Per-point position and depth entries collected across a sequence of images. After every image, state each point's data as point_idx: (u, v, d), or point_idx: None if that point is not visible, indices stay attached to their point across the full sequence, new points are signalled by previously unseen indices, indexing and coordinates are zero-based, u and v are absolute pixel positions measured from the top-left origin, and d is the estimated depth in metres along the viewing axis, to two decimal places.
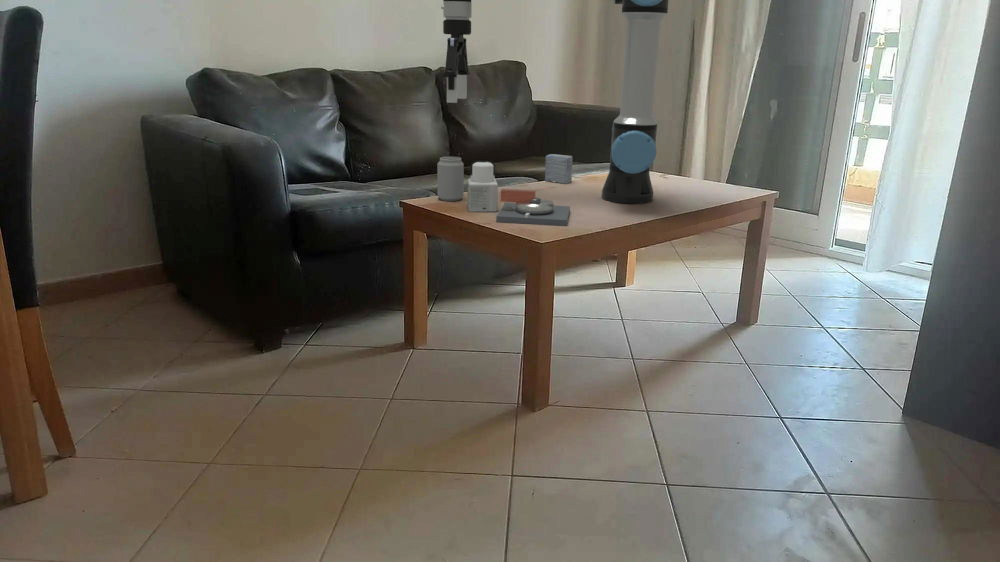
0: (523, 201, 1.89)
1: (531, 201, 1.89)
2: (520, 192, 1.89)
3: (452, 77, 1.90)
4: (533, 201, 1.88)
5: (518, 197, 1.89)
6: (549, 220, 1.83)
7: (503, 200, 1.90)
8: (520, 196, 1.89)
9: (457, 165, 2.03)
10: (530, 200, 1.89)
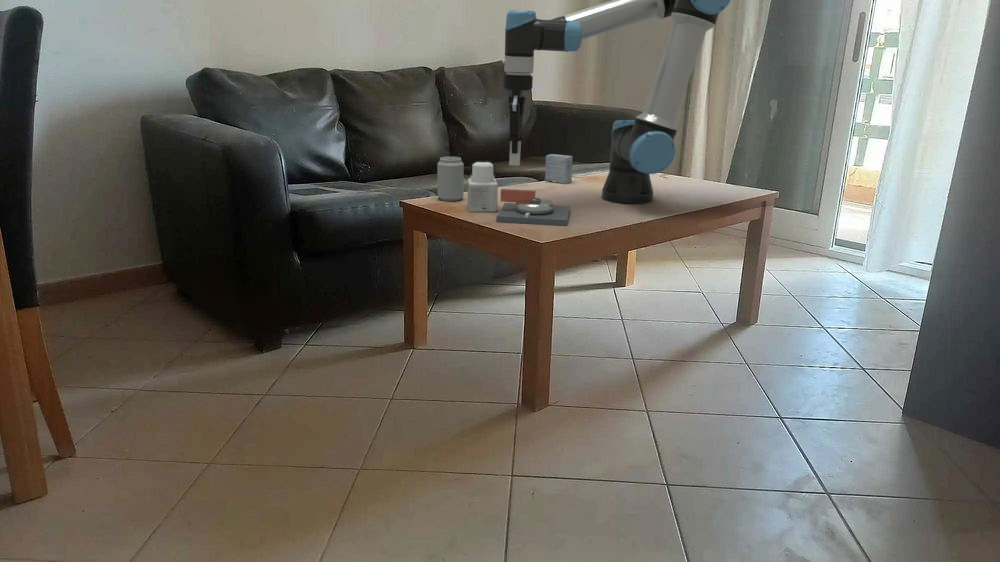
0: (523, 201, 1.89)
1: (531, 201, 1.89)
2: (520, 192, 1.89)
3: (516, 141, 1.89)
4: (533, 201, 1.88)
5: (518, 197, 1.89)
6: (549, 220, 1.83)
7: (503, 200, 1.90)
8: (520, 196, 1.89)
9: (457, 165, 2.03)
10: (530, 200, 1.89)
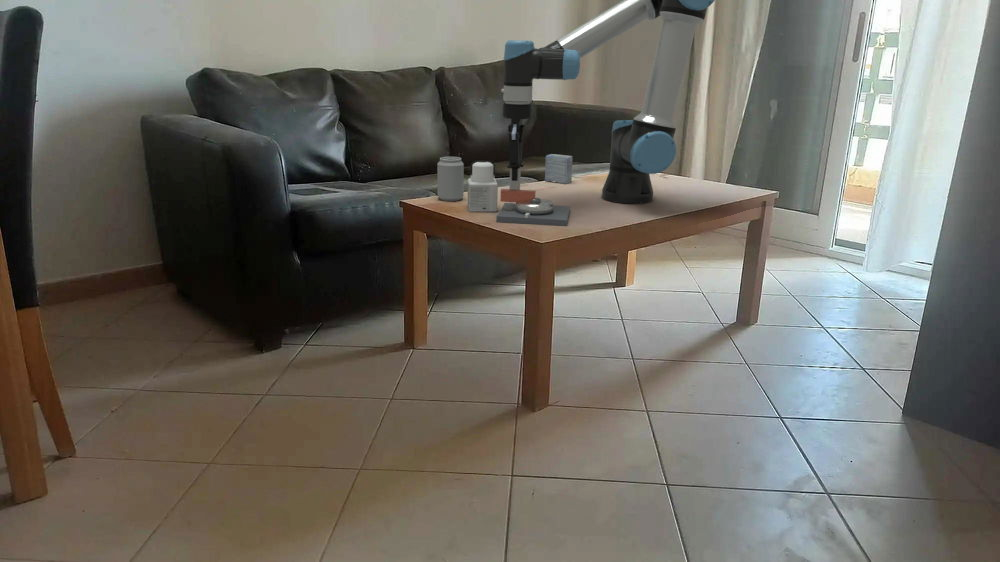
0: (523, 201, 1.89)
1: (531, 201, 1.89)
2: (520, 192, 1.89)
3: (516, 169, 1.91)
4: (533, 201, 1.88)
5: (518, 197, 1.89)
6: (549, 220, 1.83)
7: (503, 200, 1.90)
8: (520, 196, 1.89)
9: (457, 165, 2.03)
10: (530, 200, 1.89)
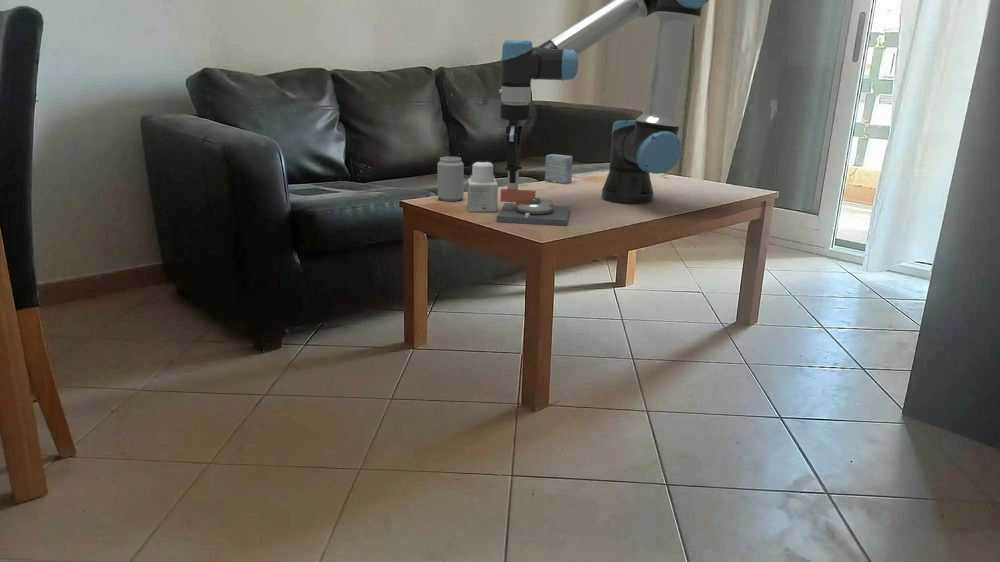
0: (523, 201, 1.89)
1: (531, 201, 1.89)
2: (520, 192, 1.89)
3: (514, 171, 1.88)
4: (533, 201, 1.88)
5: (518, 197, 1.89)
6: (549, 220, 1.83)
7: (503, 200, 1.90)
8: (520, 196, 1.89)
9: (457, 165, 2.03)
10: (530, 200, 1.89)
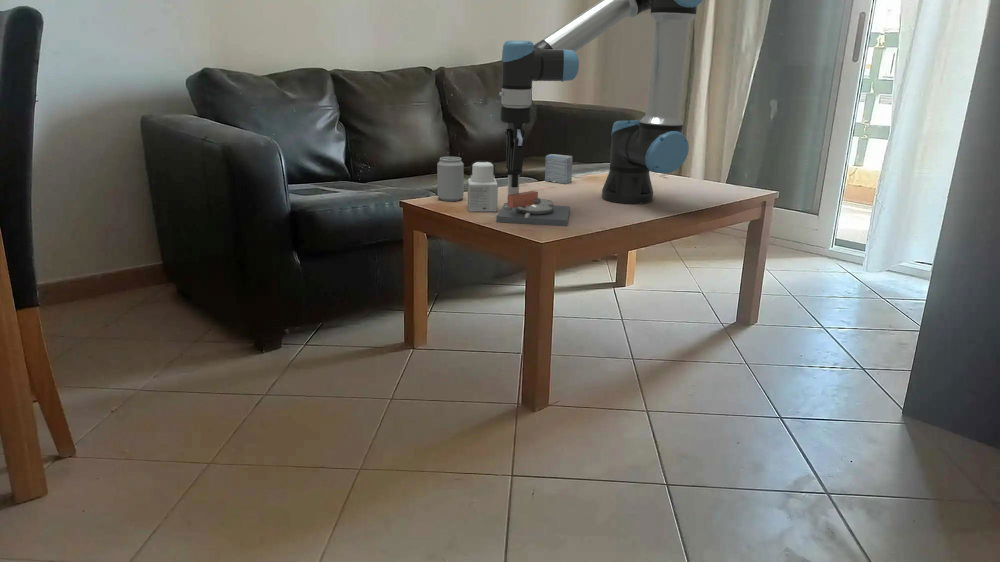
0: (529, 203, 1.87)
1: (536, 201, 1.88)
2: (527, 194, 1.86)
3: (517, 175, 1.83)
4: (538, 201, 1.89)
5: (526, 200, 1.86)
6: (549, 220, 1.83)
7: (515, 206, 1.84)
8: (527, 198, 1.86)
9: (457, 165, 2.03)
10: (535, 201, 1.88)
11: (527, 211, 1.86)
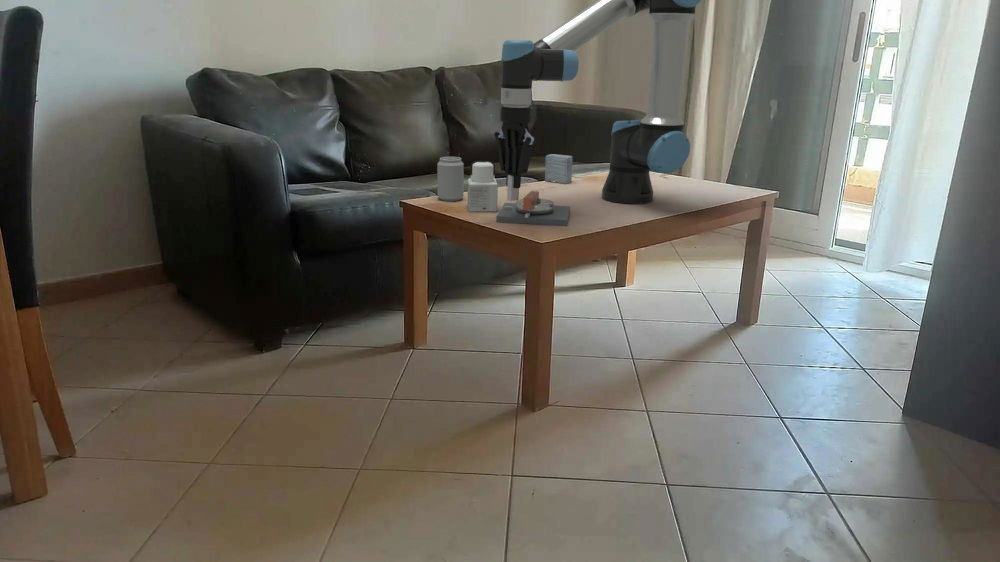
0: (536, 203, 1.87)
1: (538, 201, 1.89)
2: (535, 195, 1.85)
3: (520, 175, 1.82)
4: (540, 200, 1.89)
5: (535, 201, 1.85)
6: (549, 220, 1.83)
7: (531, 208, 1.82)
8: (535, 199, 1.86)
9: (457, 165, 2.03)
10: (538, 200, 1.88)
11: (538, 212, 1.86)
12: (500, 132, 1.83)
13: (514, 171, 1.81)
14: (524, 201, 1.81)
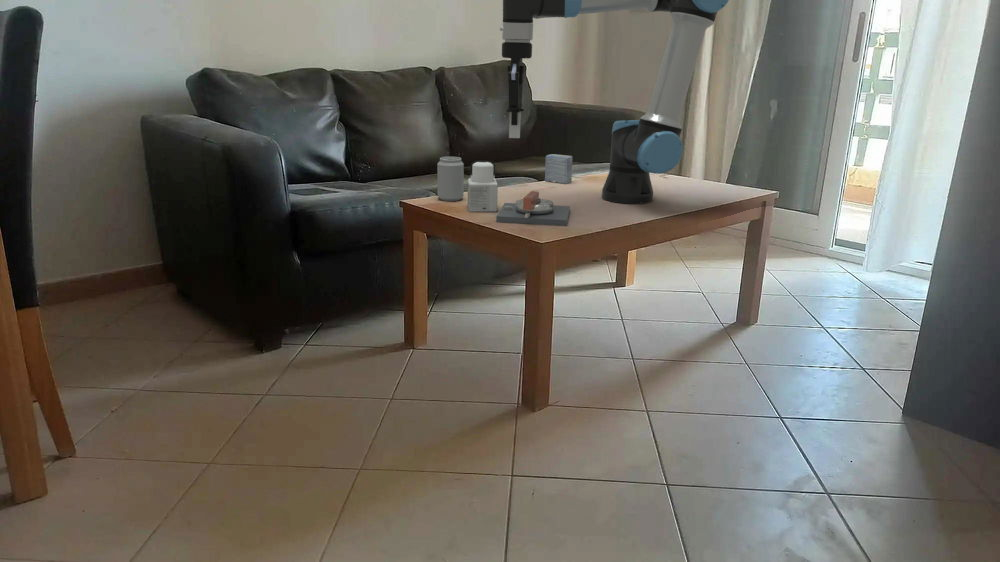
0: (536, 203, 1.87)
1: (538, 201, 1.89)
2: (535, 195, 1.85)
3: (516, 112, 1.82)
4: (540, 200, 1.89)
5: (535, 201, 1.85)
6: (549, 220, 1.83)
7: (531, 208, 1.82)
8: (535, 199, 1.86)
9: (457, 165, 2.03)
10: (538, 200, 1.88)
11: (538, 212, 1.86)
12: None
13: None
14: (524, 201, 1.81)
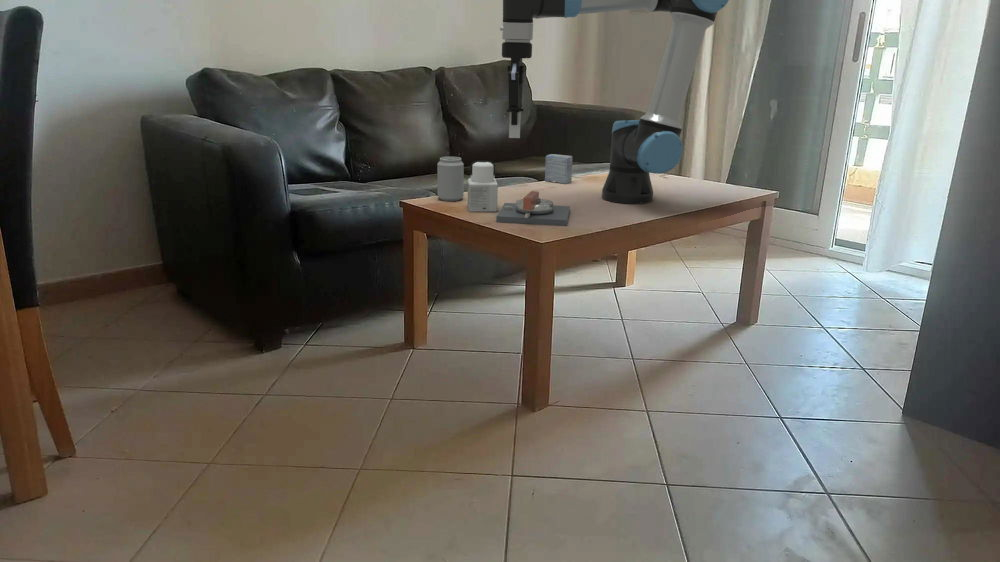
0: (536, 203, 1.87)
1: (538, 201, 1.89)
2: (535, 195, 1.85)
3: (516, 112, 1.82)
4: (540, 200, 1.89)
5: (535, 201, 1.85)
6: (549, 220, 1.83)
7: (531, 208, 1.82)
8: (535, 199, 1.86)
9: (457, 165, 2.03)
10: (538, 200, 1.88)
11: (538, 212, 1.86)
12: None
13: None
14: (524, 201, 1.81)
